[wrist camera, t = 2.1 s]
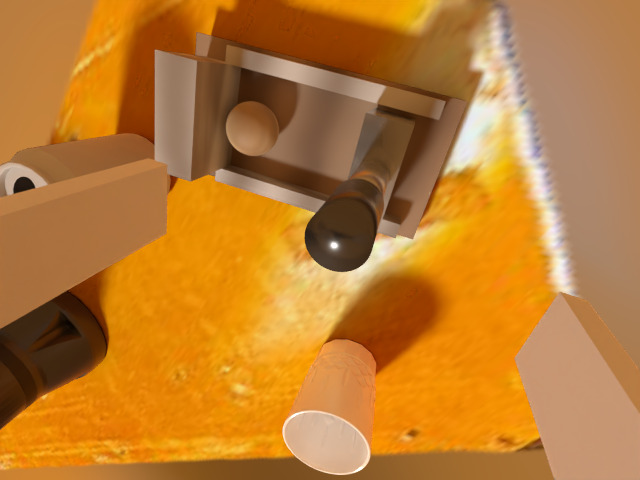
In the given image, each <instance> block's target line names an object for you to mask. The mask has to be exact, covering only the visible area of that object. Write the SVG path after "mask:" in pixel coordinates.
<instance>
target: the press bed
mask: <svg viewBox="0 0 640 480" xmlns="http://www.w3.org/2000/svg"><path fill="white" fill-rule="evenodd" d="M247 101H255V102H259V103H261V104H264V105H265V106H267V107H268V108H269V109H270V110H271V111H272V112H273V113H274V115H275V117H276V119H277V121H278V125H279V135H278V139H277V141H276V143H275V145H274V146H273V148H272V149H271V150H269V151H268V152H267V153H265V154H262V155H258V156H249V155H246V154H243V153H241V152H239V151H238V150H237V149H236V148H234V147H233V145H232V144H231V143H230V141H229V139H228V136H227V133H226V121H227V118H228V115H229V113H230V112H231V111H232V109H233V108H234V107H235V106H237V105H238V104H240V103H243V102H247ZM466 104H467V101H464V100H460V99H456V98H452V97H448V96H444V95H440V94H437V93H433V92H429V91H425V90H421V89H417V88H413V87H409V86H405V85H401V84H398V83H394V82H390V81H386V80H382V79H378V78H374V77H370V76H366V75H362V74H359V73H355V72H351V71H347V70H343V69H339V68H335V67H331V66H327V65H323V64H320V63H316V62H312V61H308V60H304V59H300V58H296V57H292V56H288V55H284V54H281V53H277V52H273V51H269V50H265V49H261V48H257V47H253V46H249V45H245V44H242V43H238V42H234V41H230V40H226V39H222V38H218V37H214V36H210V35H206V34H202V33H198V32H197V33H196V53H195V55H191V54H184V53H177V52H170V51H163V50H155V161H158V162H161V163H165V164H167V174H169V175H172V176H175V177H178V178H181V179H184V180H188V181H193V180H195V179H198V178H200V177H203V176H205V175H208V174H209V175H212V176H215V181H218V182H221V183H225V184H228V185H231V186H234V187H237V188H240V189H243V190H247V191H250V192H253V193H256V194H259V195H262V196H265V197H268V198H272V199H275V200H278V201H281V202H284V203H287V204H290V205H293V206H297V207H300V208H303V209H306V210H309V211H312V212H315V213H316V212H317V211H318V210H319V209H320V208H321V206H322V205H323V204H324V203H325V201H326V200H327V199H328V198H329V197H330V195H331V194H332V193H333V192H334V191H335V189H336V188H337V187H338V186H339V185H340V184H341V183H343V182H344V181H347V180H348V176H349V172H350V169H351V165H352V161H353V158H354V154H355V150H356V147H357V143H358V139H359V136H360V132H361V128H362V125H363V121H364V117H365V114H366V112H368V111H370V110H372V109H374V108H377V109H381V110H385V111H388V112H392V113H396V114H400V115H403V116H407V117H411V118H414V119H415V125H414V128H413V131H412V134H411V137H410V140H409V143H408V146H407V149H406V152H405V155H404V158H403V161H402V164H401V167H400V170H399V172H398V175H397V178H396V181H395V184H394V187H393V190H392V193H391V196H390V199H389V202H388V205H387V208H386V211H385V214H384V217H383V219H382V222H381V225H380V228H379V231H378V233H381V234H384V235H387V236H390V237H393V238H396V235H397V234H398V235H401V236H404V237H407V238H410V239H413V238H414V235H415V233H416V230H417V228H418V225H419V222H420V220H421V217H422V215H423V212H424V210H425V207H426V205H427V202H428V200H429V197H430V195H431V192H432V190H433V187H434V185H435V182H436V180H437V177H438V175H439V172H440V170H441V167H442V165H443V162H444V160H445V157H446V154H447V152H448V149H449V147H450V144H451V142H452V139H453V137H454V134H455V132H456V129H457V127H458V124H459V122H460V119H461V117H462V114H463V112H464V109H465V107H466Z"/></svg>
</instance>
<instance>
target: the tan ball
mask: <svg viewBox="0 0 640 480" xmlns="http://www.w3.org/2000/svg"><path fill="white" fill-rule="evenodd" d="M226 133H227V136H228V139H229V141H230V143H231V144H232V145H233V147H234V148H236V149H237V150H238V151H239V152H241V153H243V154H246V155H249V156H258V155H262V154H265V153H267V152H268V151H269V150H271V149H272V148H273V146H274V145H275V143H276V141H277V139H278V135H279V125H278V121H277V119H276V117H275V115H274V113H273V112H272V111H271V110H270V109H269V108H268V107H267V106H265V105H264V104H261V103H259V102H255V101H247V102H243V103H240V104H238V105H237V106H235V107H234V108H233V109H232V111H231V112H230V113H229V115H228V118H227V121H226Z"/></svg>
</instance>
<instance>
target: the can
mask: <svg viewBox="0 0 640 480" xmlns="http://www.w3.org/2000/svg"><path fill="white" fill-rule="evenodd" d="M148 158H149V159H152V160H155V145H154V144H152V143H151V142H150V141H149V140H148V139H146V138H144V137H142V136H140V135H137V134H132V133H122V134H116V135H110V136H103V137H97V138H91V139H84V140H78V141H72V142H65V143H59V144H53V145H46V146H40V147H34V148H27V149H25V150H22V151H19V152H17V153H16V154H15V156H14V157H13V158H12V159H11V161H9V162H7V163H3V164H1V166H0V197H4V196H8V195H12V194H16V193H19V192H23V191H27V190H31V189H34V188H38V187H42V186H46V185H49V184H53V183H57V182H61V181H65V180H68V179H72V178H76V177H80V176H83V175H87V174H91V173H95V172H99V171H102V170H106V169H110V168H114V167H117V166H121V165H125V164H129V163H132V162H136V161H140V160H144V159H148ZM170 182H171V179H170V175H169V174H167V195H168V193H169V190H170Z"/></svg>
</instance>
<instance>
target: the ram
mask: <svg viewBox="0 0 640 480" xmlns="http://www.w3.org/2000/svg"><path fill="white" fill-rule="evenodd" d="M414 125H415V119H414V118H411V117H407V116H403V115H400V114H396V113H392V112H388V111H385V110H381V109H377V108H374V109H372V110H370V111H368V112H366V114H365V117H364V121H363V125H362V128H361V132H360V136H359V139H358V143H357V147H356V150H355V154H354V158H353V161H352V165H351V169H350V172H349V176H348V180H347V181H344V182H343V183H341V184H340V185H339V186H338V187H337V188H336V189H335V191H334V192H333V193H332V194H331V195H330V197H329V198H328V199H327V200H326V201H325V203H324V204H323V205H322V206H321V208H320V209H319V210H318V211H317V212H316V214H315V215H314V216H313V217H312V219H311V220H310V221H309V223H308V225H307V227H306V230H305V244H306V247H307V250H308V252H309V254H310V255H311V257H312V258H313V259H314V260H315V261H316V262H317V263H318V264H320V265H321V266H323V267H324V268H326V269H329V270H332V271H337V272H347V271H351V270H354V269H357V268H359V267H360V266H362V265H363V264H364V263H365V262H366V261H367V259H368V258H369V256H370V254H371V251H372V248H373V244H374V241H375V238H376V234H377V232H378V231H379V228H380V225H381V222H382V219H383V217H384V214H385V211H386V208H387V205H388V202H389V199H390V196H391V193H392V190H393V187H394V184H395V181H396V178H397V175H398V172H399V170H400V167H401V164H402V161H403V158H404V155H405V152H406V149H407V146H408V143H409V140H410V137H411V134H412V131H413V128H414Z"/></svg>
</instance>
